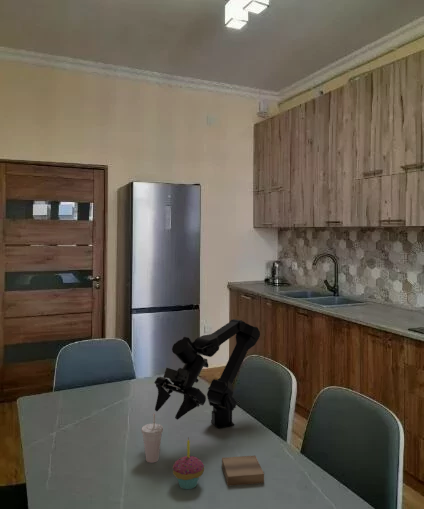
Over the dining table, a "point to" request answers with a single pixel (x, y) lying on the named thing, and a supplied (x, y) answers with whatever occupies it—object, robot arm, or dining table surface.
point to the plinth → (242, 470)
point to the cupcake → (188, 469)
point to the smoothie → (152, 440)
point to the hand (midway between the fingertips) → (165, 414)
